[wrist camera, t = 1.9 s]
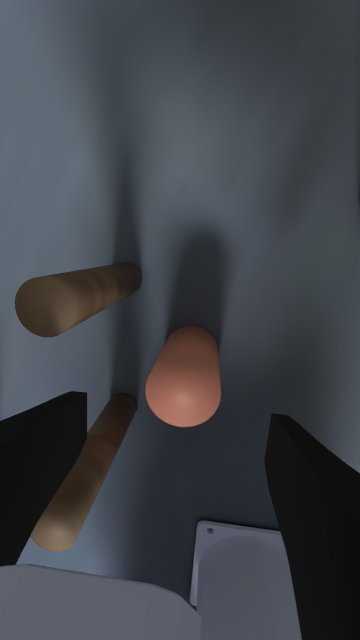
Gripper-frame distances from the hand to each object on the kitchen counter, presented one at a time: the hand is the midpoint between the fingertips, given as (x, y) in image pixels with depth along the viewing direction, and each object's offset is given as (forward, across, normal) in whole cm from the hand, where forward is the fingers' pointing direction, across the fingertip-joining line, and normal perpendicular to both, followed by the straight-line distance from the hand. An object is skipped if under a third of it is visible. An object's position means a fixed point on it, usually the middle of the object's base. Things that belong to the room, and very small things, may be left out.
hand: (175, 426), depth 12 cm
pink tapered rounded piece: (+9, 0, 0) cm, 9 cm away
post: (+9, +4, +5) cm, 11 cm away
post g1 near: (+9, +4, -4) cm, 11 cm away
